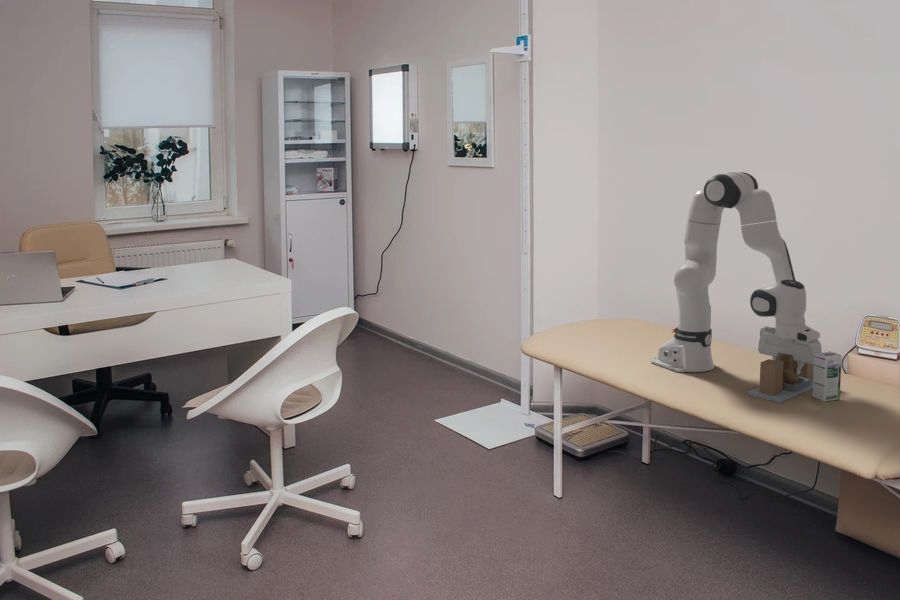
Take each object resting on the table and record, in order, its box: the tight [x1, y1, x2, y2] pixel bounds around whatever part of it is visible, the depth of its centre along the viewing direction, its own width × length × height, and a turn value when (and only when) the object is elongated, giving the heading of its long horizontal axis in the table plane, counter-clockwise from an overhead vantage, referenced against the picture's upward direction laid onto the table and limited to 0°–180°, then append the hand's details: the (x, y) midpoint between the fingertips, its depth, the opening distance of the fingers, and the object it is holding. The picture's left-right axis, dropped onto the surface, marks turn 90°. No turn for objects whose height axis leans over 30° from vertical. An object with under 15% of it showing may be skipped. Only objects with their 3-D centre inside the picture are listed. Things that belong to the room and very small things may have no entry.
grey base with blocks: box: [747, 358, 814, 404], centre depth 270 cm, size 11×28×11 cm, turn 129°
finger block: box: [777, 353, 799, 385], centre depth 270 cm, size 5×5×10 cm
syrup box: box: [812, 351, 843, 403], centre depth 259 cm, size 6×6×14 cm
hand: (787, 371), depth 270 cm, fingers closed on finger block, 5 cm apart
